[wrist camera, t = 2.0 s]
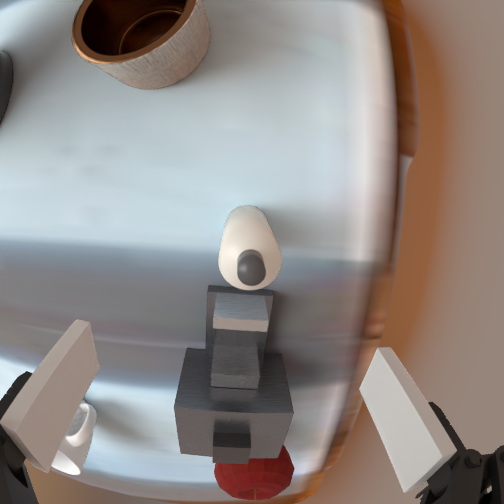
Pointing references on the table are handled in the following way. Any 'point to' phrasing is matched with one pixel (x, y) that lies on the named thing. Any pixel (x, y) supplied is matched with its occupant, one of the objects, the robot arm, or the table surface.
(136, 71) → the planter
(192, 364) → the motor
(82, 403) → the mug
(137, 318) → the table surface
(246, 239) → the white bottle
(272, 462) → the apple
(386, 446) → the robot arm
